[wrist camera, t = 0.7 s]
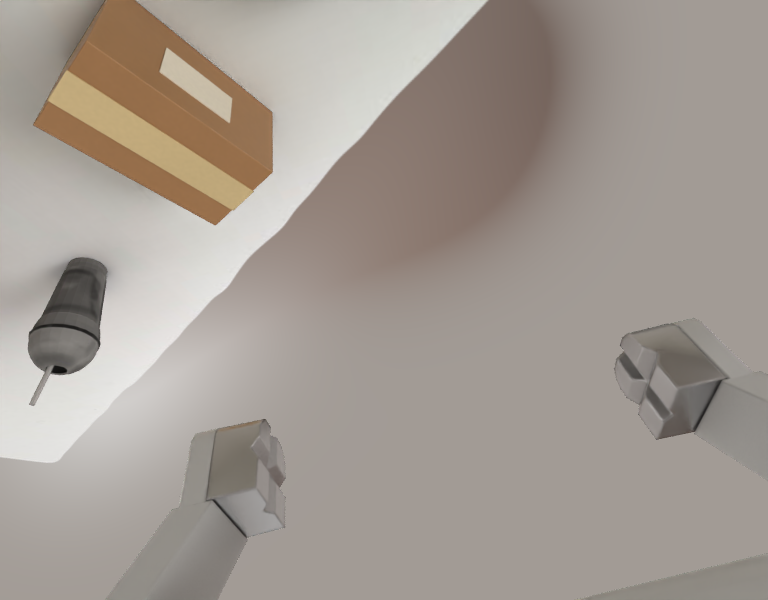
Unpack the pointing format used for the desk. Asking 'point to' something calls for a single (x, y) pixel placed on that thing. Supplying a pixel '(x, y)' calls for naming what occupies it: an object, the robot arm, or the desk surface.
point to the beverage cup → (69, 322)
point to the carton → (160, 113)
